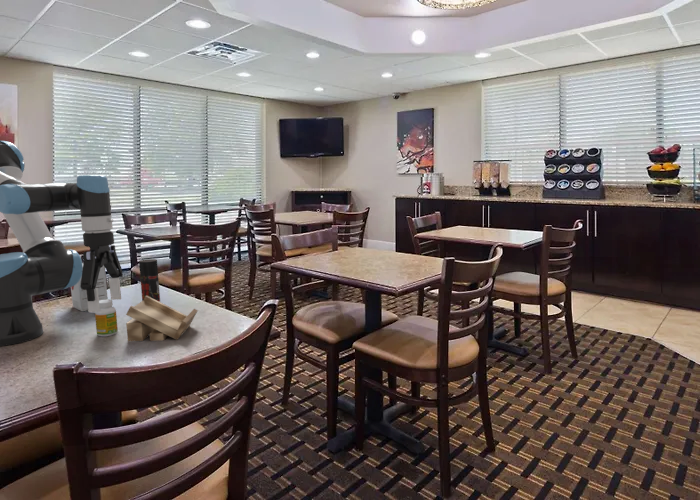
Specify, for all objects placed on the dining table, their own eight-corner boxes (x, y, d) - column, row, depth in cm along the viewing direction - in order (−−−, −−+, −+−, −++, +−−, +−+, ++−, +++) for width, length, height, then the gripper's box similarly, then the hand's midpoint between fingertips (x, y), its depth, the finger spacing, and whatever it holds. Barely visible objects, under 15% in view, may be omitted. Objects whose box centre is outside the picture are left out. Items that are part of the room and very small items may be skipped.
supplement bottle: (109, 337, 132) (106, 304, 130) (92, 336, 133) (89, 303, 131) (122, 331, 137) (119, 299, 136) (105, 330, 138) (102, 298, 137)
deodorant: (143, 300, 171) (140, 259, 169) (160, 298, 173) (157, 258, 171) (141, 304, 166) (137, 262, 163) (159, 302, 168) (156, 261, 165)
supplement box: (71, 306, 163) (67, 264, 161) (99, 301, 170) (95, 261, 167) (81, 311, 157) (76, 268, 155) (109, 306, 164) (105, 264, 161)
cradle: (127, 341, 129) (124, 306, 127) (144, 327, 140) (141, 295, 139) (187, 339, 129) (185, 305, 128) (198, 326, 141) (196, 294, 140)
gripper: (89, 236, 118) (98, 317, 121) (130, 226, 143) (136, 294, 146) (59, 237, 118) (68, 318, 121) (104, 227, 142) (111, 295, 146)
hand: (105, 305), depth 133 cm, fingers open, 13 cm apart
